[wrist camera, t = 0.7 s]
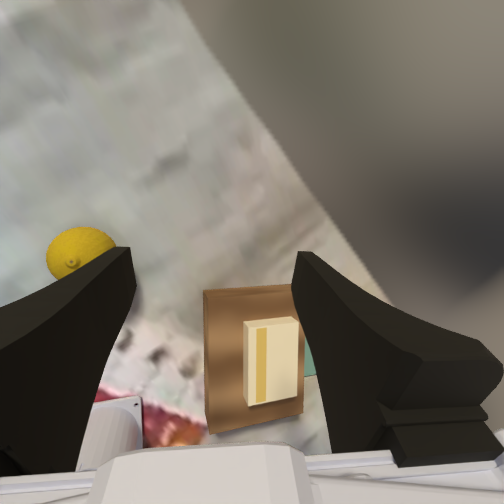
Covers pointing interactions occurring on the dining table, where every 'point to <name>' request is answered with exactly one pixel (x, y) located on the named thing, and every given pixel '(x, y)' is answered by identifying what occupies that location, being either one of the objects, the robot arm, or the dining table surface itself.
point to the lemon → (76, 249)
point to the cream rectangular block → (270, 359)
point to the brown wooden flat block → (231, 355)
